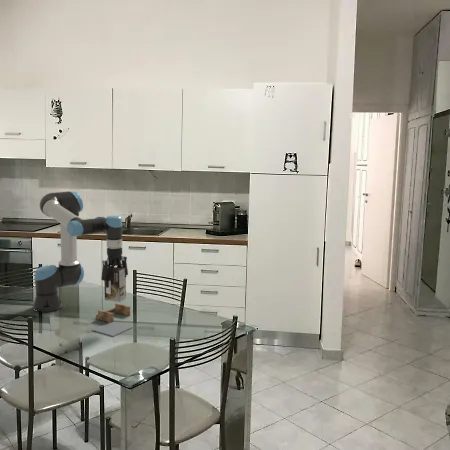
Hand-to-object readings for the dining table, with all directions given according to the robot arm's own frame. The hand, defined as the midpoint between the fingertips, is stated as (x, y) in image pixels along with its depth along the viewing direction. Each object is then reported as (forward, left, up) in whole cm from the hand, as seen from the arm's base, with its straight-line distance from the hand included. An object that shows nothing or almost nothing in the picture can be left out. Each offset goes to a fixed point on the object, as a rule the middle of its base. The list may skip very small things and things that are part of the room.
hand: (115, 291), depth 256 cm
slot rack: (-10, +10, -19) cm, 24 cm away
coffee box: (0, 0, -4) cm, 4 cm away
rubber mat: (+1, -3, -19) cm, 19 cm away
